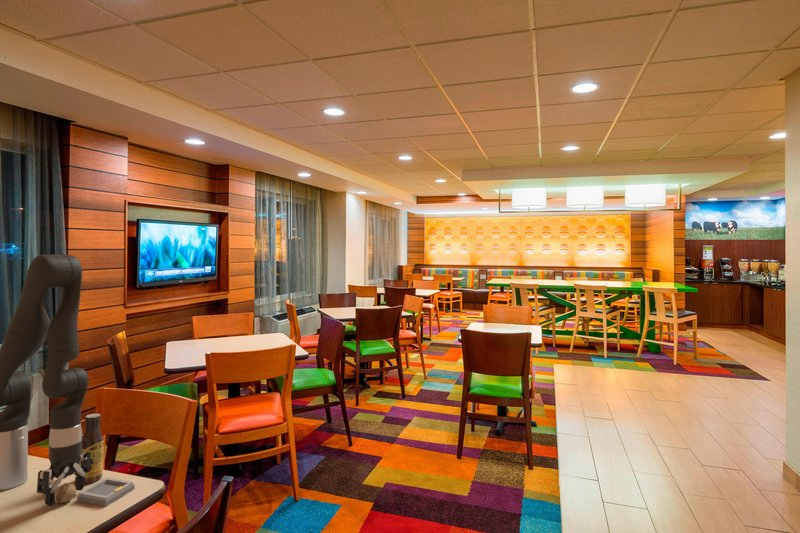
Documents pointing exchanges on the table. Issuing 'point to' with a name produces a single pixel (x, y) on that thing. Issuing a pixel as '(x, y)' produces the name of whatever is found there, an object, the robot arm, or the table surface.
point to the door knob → (65, 493)
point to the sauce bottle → (93, 447)
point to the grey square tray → (105, 491)
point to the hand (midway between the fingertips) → (65, 497)
